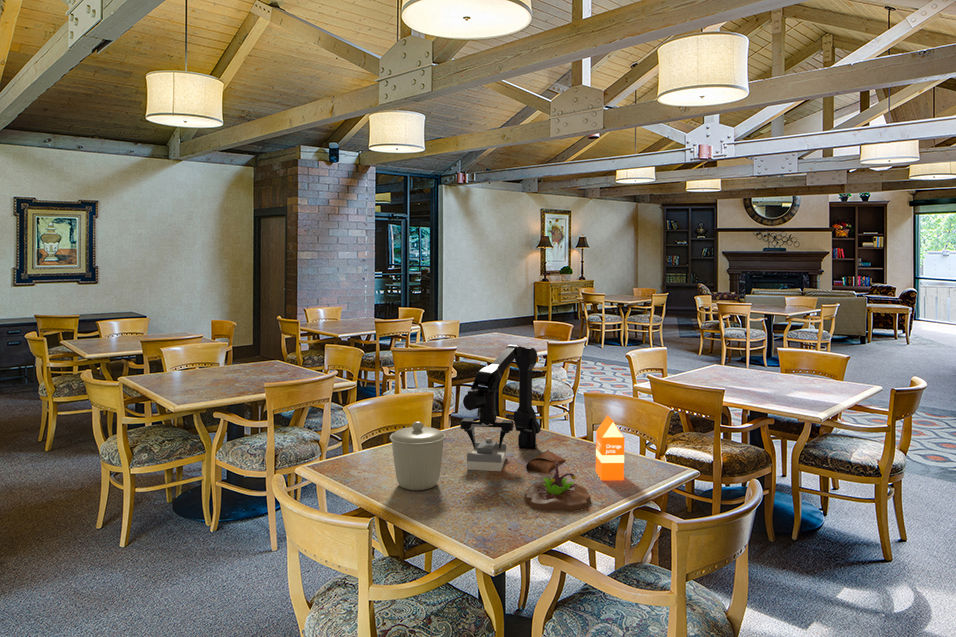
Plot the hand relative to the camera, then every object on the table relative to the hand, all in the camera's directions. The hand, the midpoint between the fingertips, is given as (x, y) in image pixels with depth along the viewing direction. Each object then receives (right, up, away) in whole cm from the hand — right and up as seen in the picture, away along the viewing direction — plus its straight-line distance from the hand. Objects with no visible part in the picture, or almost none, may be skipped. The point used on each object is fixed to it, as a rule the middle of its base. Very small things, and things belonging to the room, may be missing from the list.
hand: (487, 447), depth 227 cm
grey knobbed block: (0, -3, 0) cm, 3 cm away
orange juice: (+41, -7, -13) cm, 44 cm away
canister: (-23, -8, -22) cm, 33 cm away
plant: (+21, -9, -34) cm, 41 cm away
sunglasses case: (+21, -7, -1) cm, 22 cm away
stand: (0, -6, 0) cm, 6 cm away
